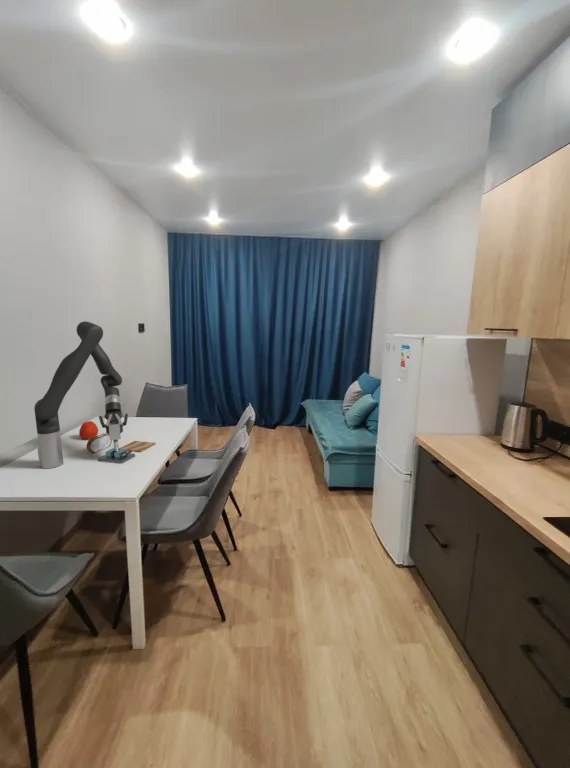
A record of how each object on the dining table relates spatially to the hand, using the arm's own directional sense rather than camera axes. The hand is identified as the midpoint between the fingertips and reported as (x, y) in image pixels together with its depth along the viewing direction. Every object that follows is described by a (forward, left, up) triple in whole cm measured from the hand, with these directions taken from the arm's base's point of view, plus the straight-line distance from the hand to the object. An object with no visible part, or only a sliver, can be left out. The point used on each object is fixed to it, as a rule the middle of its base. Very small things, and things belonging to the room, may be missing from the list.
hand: (114, 432), depth 177 cm
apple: (-41, +26, -15) cm, 51 cm away
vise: (-1, +1, -14) cm, 15 cm away
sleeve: (-1, +1, -3) cm, 4 cm away
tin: (-19, +10, -15) cm, 26 cm away
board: (-2, +19, -14) cm, 24 cm away
